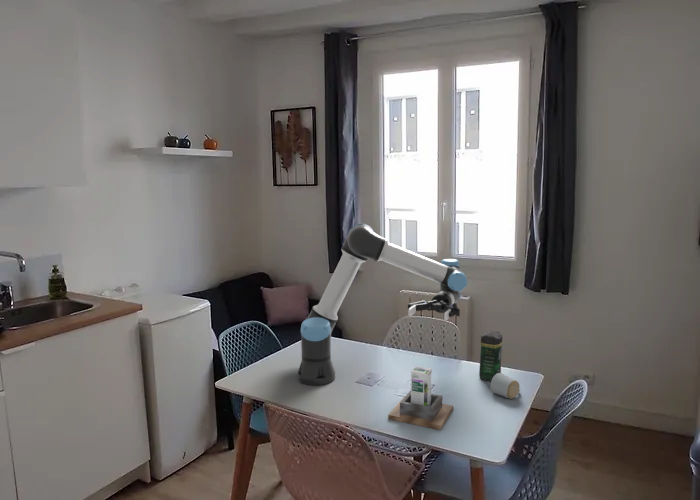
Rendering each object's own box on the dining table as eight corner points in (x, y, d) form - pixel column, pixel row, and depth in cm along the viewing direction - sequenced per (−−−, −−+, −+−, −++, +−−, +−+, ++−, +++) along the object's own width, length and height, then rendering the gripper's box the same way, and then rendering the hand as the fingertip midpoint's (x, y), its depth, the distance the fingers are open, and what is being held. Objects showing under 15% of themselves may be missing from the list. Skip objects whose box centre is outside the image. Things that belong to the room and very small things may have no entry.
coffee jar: (497, 383, 207) (498, 337, 205) (477, 379, 211) (478, 334, 208) (503, 374, 216) (504, 330, 213) (483, 371, 219) (485, 327, 217)
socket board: (388, 419, 178) (388, 403, 177) (404, 400, 192) (404, 385, 192) (440, 429, 170) (440, 413, 170) (453, 409, 185) (453, 394, 184)
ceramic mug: (508, 402, 190) (509, 381, 189) (489, 394, 197) (490, 374, 196) (525, 394, 197) (526, 375, 196) (506, 387, 203) (507, 368, 202)
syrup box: (410, 412, 180) (410, 371, 178) (415, 405, 185) (415, 365, 183) (426, 415, 177) (427, 373, 175) (431, 407, 183) (432, 367, 181)
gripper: (473, 314, 209) (460, 329, 190) (413, 307, 219) (394, 320, 200) (474, 295, 207) (461, 308, 189) (413, 289, 218) (395, 301, 199)
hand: (426, 314), depth 194 cm, fingers open, 13 cm apart
